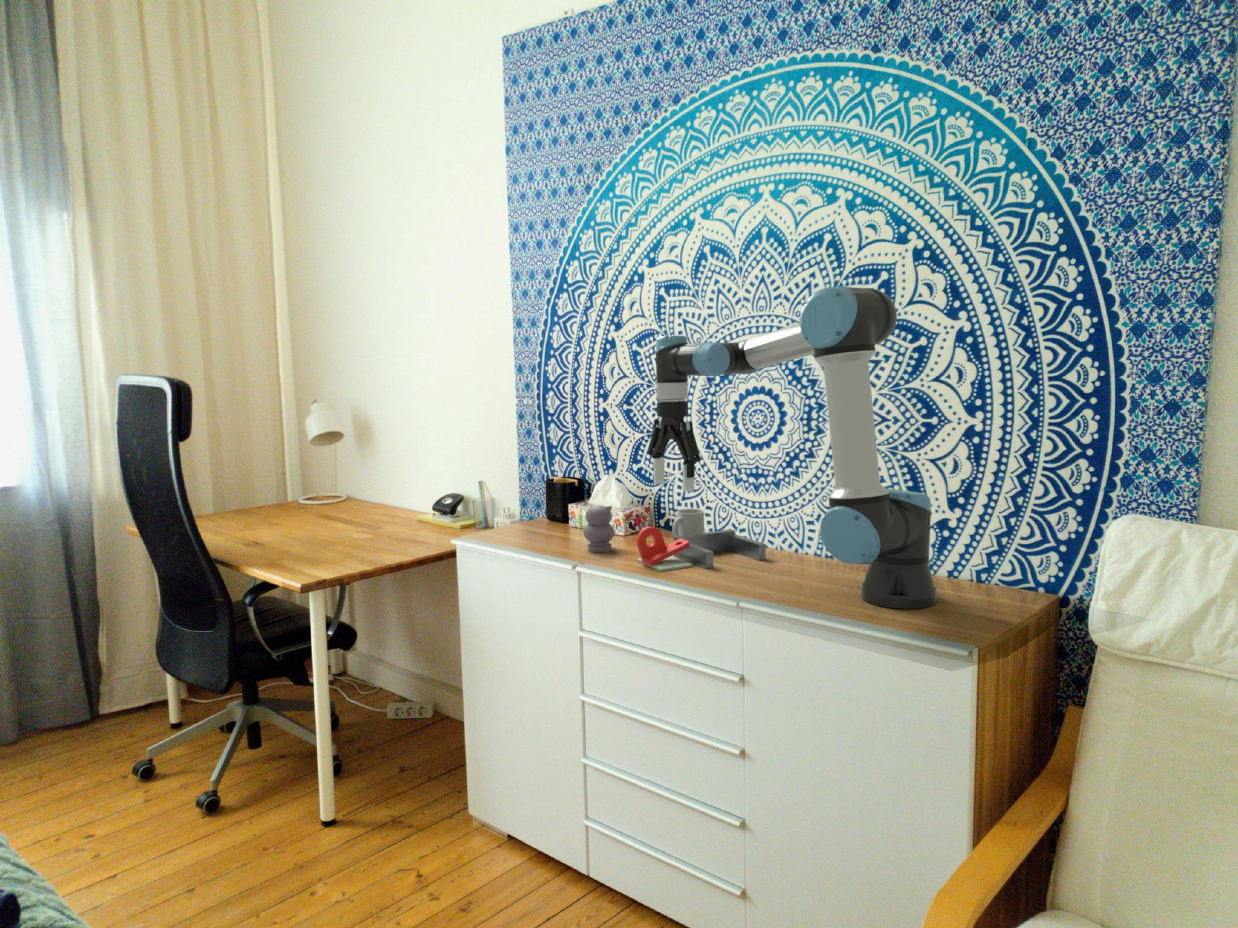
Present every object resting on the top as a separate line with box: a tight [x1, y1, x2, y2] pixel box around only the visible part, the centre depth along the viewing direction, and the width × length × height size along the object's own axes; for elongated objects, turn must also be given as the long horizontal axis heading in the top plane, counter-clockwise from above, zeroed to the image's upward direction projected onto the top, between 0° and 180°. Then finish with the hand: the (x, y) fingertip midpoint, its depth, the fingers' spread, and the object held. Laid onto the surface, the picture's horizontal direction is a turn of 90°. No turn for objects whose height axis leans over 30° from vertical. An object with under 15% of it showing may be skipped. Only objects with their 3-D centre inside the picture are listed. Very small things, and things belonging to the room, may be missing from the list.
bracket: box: [636, 526, 690, 566], centre depth 216 cm, size 12×4×8 cm, turn 117°
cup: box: [672, 508, 705, 538], centre depth 237 cm, size 7×10×9 cm
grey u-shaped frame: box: [673, 528, 767, 569], centre depth 224 cm, size 20×18×5 cm
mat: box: [636, 555, 694, 572], centre depth 217 cm, size 12×9×1 cm
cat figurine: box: [583, 503, 615, 553], centre depth 233 cm, size 8×8×12 cm
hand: (673, 487), depth 214 cm, fingers open, 13 cm apart
